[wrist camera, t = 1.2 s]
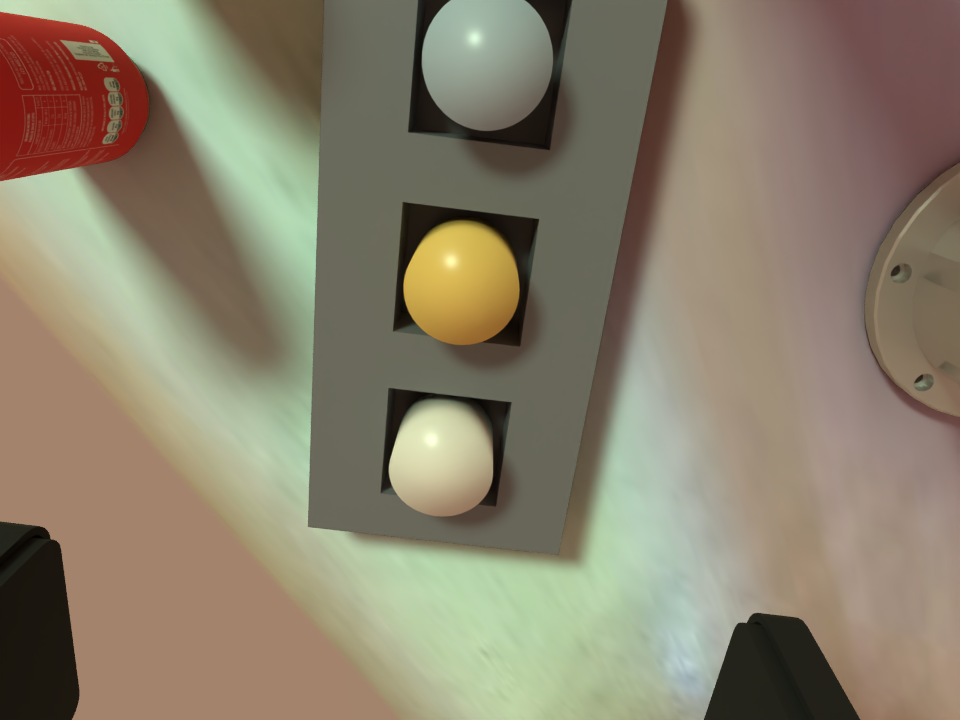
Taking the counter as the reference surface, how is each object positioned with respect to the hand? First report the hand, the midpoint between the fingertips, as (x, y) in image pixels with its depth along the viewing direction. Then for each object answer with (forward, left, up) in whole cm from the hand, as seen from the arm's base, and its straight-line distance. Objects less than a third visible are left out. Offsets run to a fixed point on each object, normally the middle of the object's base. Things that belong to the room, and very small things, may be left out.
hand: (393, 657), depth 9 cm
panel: (0, 0, -23) cm, 23 cm away
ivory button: (0, +8, -21) cm, 23 cm away
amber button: (0, 0, -21) cm, 21 cm away
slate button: (0, -8, -21) cm, 23 cm away
